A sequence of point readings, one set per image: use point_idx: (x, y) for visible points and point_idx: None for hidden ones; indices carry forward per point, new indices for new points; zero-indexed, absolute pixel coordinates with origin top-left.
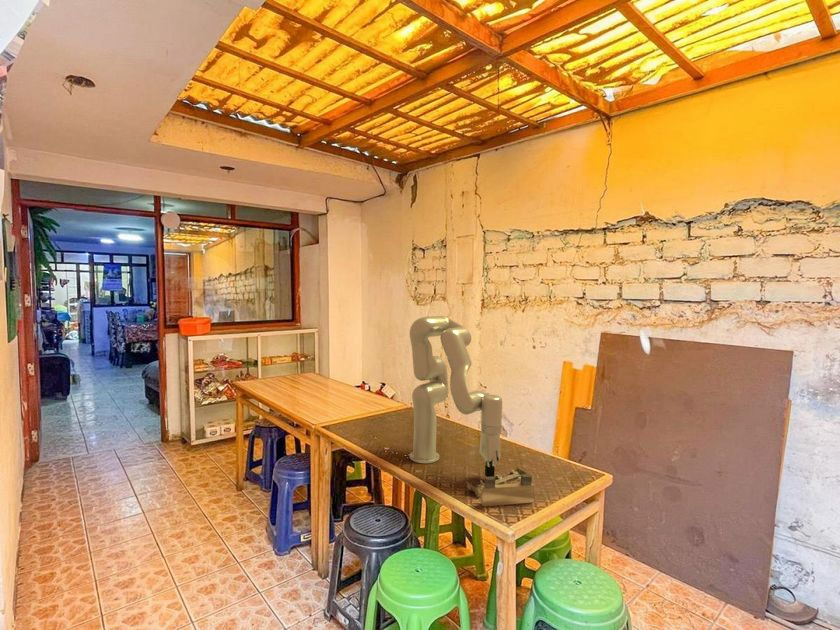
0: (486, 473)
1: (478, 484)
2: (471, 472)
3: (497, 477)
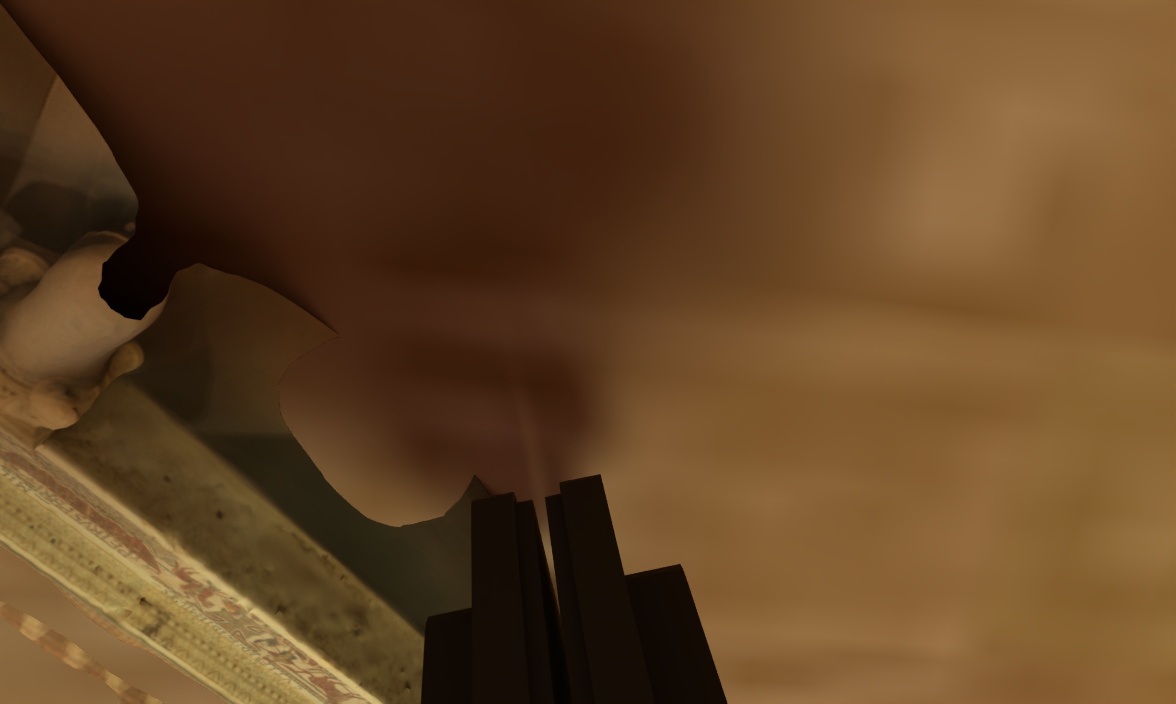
0: (475, 573)
1: (93, 185)
2: (1070, 87)
3: None
